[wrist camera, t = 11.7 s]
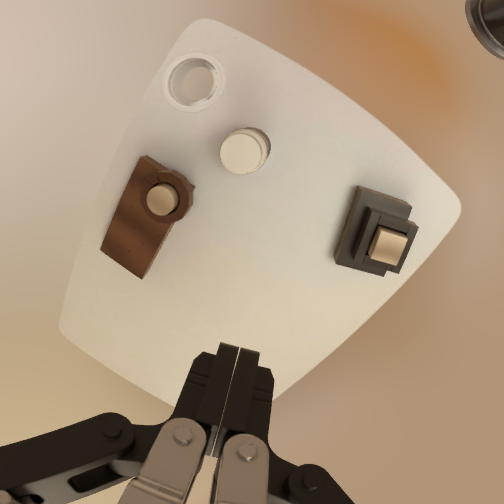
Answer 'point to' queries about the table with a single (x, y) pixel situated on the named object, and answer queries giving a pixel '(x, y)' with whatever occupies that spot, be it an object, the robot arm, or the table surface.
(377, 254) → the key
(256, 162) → the pill bottle
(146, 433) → the robot arm
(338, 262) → the key box
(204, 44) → the table surface
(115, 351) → the table surface
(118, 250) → the brown flat piece
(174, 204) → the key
